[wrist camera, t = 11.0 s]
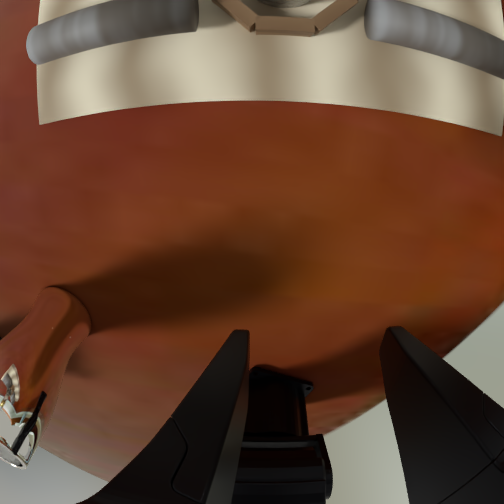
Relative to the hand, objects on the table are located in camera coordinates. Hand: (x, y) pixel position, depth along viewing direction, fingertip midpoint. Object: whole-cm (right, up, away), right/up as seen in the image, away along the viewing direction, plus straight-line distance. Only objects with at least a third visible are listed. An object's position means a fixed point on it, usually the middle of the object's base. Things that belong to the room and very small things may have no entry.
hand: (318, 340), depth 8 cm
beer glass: (-19, -3, +17) cm, 26 cm away
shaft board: (0, +17, +6) cm, 18 cm away
